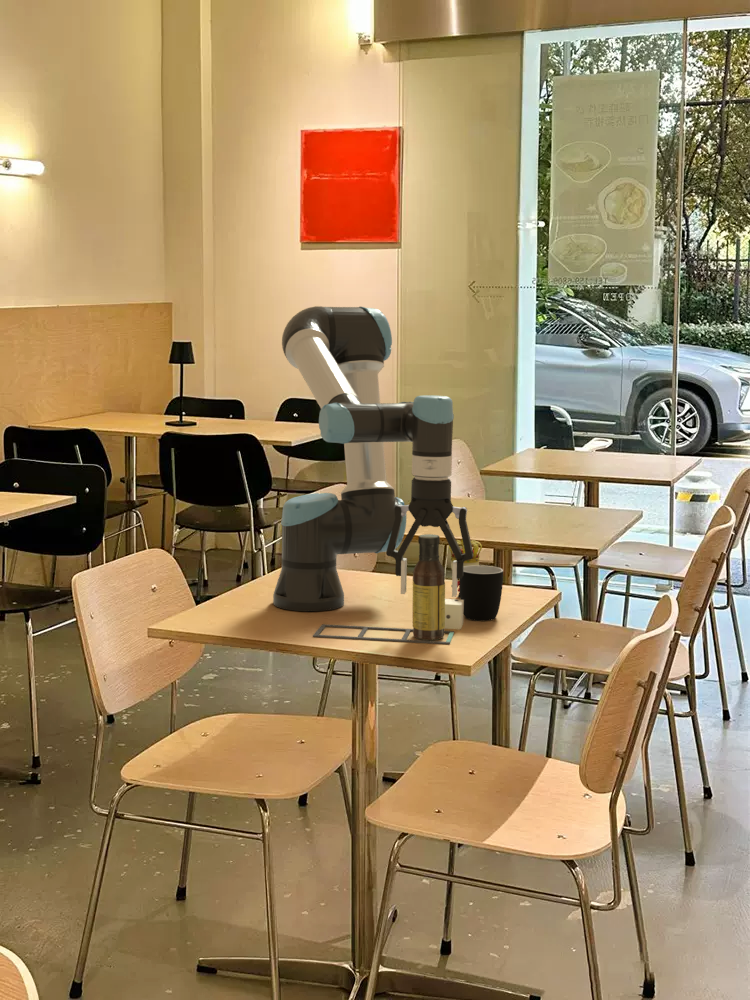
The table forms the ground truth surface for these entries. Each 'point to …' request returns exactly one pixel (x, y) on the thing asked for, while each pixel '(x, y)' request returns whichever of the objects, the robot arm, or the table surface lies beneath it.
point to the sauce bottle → (428, 591)
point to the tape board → (364, 629)
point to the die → (454, 613)
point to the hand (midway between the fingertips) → (428, 593)
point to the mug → (481, 591)
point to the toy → (468, 562)
